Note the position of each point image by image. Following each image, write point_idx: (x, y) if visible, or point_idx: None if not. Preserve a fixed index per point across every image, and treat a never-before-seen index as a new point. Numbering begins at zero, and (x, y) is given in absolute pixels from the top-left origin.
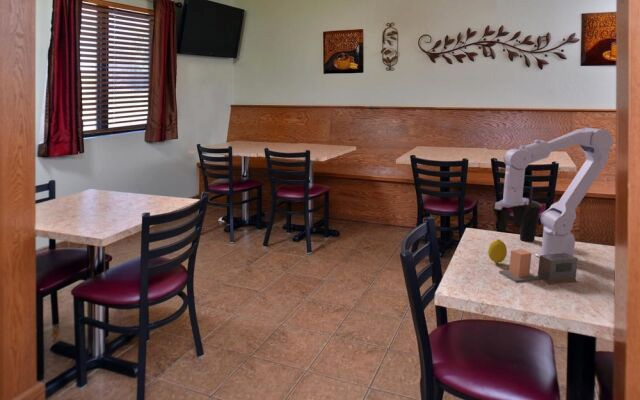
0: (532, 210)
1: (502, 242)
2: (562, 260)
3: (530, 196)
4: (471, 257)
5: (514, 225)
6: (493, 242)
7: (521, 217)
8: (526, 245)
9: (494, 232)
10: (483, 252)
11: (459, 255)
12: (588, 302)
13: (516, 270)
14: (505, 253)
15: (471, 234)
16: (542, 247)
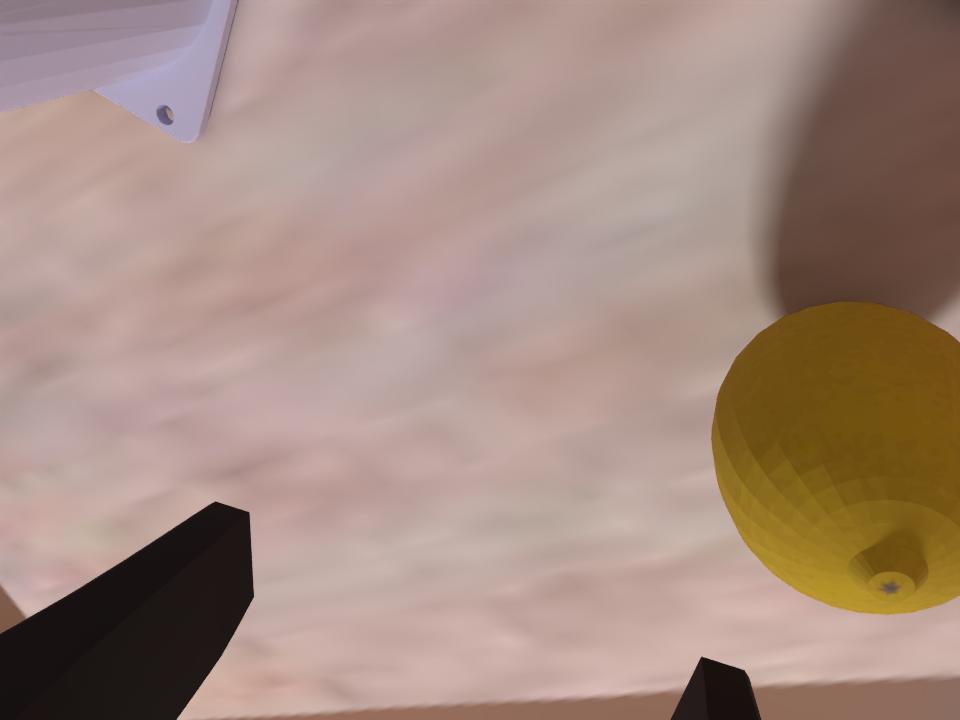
0: None
1: (891, 498)
2: None
3: None
4: (784, 591)
5: (245, 601)
6: (945, 602)
7: (70, 687)
8: (28, 330)
9: (26, 603)
10: (540, 548)
11: (800, 676)
12: None
13: None
14: (897, 329)
15: (208, 702)
16: (112, 55)
